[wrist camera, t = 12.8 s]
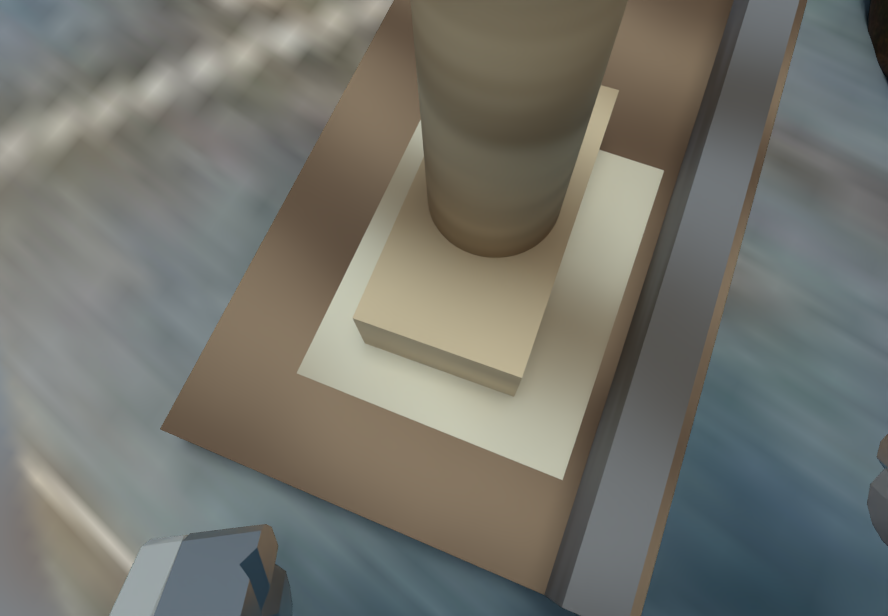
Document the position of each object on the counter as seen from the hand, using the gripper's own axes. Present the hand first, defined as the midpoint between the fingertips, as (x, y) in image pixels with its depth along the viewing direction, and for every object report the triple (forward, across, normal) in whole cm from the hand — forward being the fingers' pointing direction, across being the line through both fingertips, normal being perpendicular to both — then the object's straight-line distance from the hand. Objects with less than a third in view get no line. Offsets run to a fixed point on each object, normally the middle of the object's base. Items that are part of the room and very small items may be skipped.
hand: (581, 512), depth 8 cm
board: (+14, -3, -3) cm, 14 cm away
